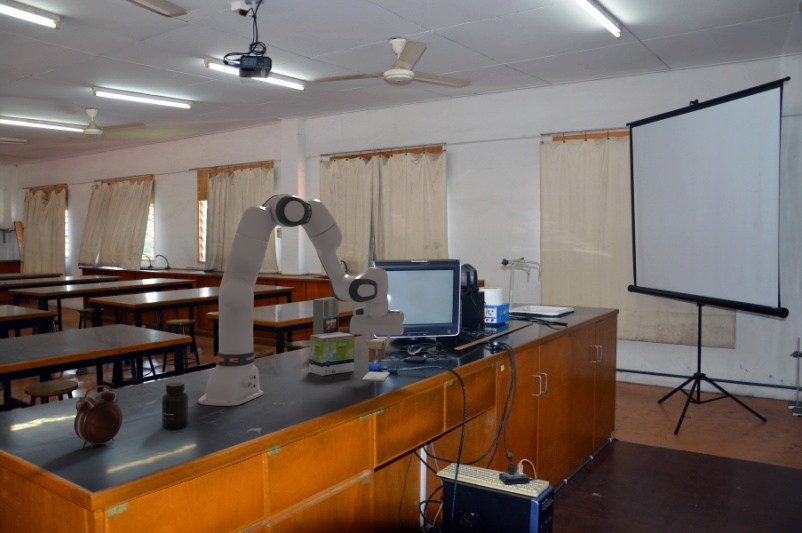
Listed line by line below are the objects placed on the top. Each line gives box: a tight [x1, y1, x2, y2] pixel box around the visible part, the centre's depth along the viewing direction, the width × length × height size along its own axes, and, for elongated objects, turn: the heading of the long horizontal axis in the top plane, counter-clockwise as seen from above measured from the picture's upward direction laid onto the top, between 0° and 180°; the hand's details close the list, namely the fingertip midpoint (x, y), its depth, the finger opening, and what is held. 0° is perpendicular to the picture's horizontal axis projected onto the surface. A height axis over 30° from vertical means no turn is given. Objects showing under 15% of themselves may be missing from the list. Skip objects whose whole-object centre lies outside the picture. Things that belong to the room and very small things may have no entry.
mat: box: [362, 371, 390, 382], centre depth 230 cm, size 12×8×1 cm, turn 171°
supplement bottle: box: [161, 381, 189, 431], centre depth 167 cm, size 7×7×12 cm
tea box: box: [308, 331, 356, 377], centre depth 238 cm, size 15×10×15 cm
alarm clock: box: [73, 384, 123, 449], centre depth 152 cm, size 11×5×15 cm, turn 150°
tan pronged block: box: [367, 338, 386, 363], centre depth 229 cm, size 7×5×8 cm
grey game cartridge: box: [312, 296, 340, 335], centre depth 277 cm, size 14×6×25 cm, turn 155°
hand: (376, 346), depth 229 cm, fingers closed on tan pronged block, 5 cm apart
